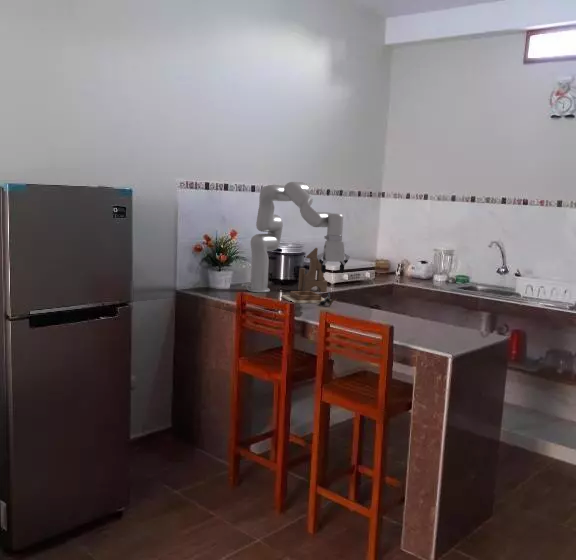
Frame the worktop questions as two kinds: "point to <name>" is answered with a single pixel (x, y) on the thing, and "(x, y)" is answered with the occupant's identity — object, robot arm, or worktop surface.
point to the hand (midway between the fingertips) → (332, 272)
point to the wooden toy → (312, 275)
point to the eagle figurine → (328, 300)
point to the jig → (303, 297)
